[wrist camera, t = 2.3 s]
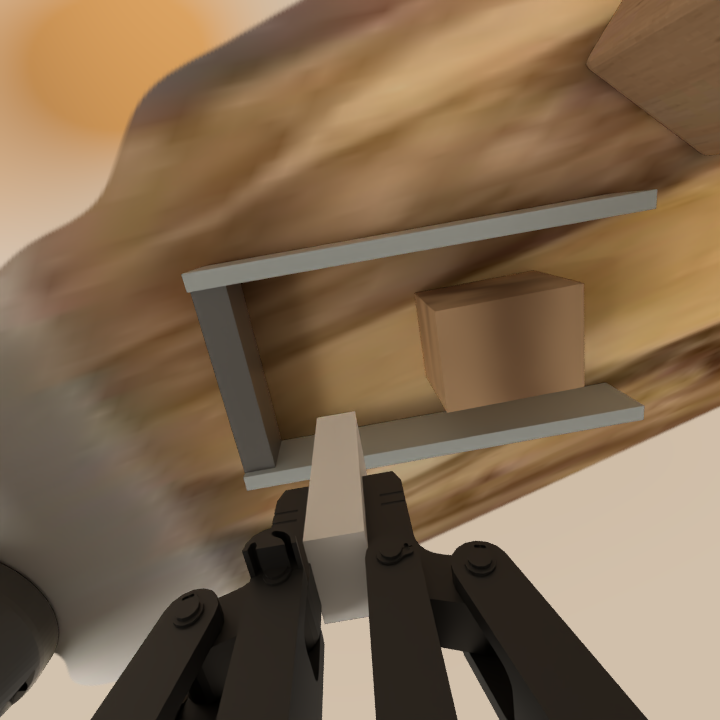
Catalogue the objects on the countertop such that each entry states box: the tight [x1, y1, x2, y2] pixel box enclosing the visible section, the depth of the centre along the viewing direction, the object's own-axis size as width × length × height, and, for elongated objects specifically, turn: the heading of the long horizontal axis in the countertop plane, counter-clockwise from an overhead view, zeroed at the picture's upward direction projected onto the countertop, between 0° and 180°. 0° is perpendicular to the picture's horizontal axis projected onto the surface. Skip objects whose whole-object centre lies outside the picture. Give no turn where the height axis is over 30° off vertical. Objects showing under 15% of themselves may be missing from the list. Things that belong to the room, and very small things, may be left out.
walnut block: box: [415, 271, 584, 413], centre depth 26 cm, size 8×6×6 cm
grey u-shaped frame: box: [181, 189, 657, 491], centre depth 27 cm, size 26×14×4 cm, turn 100°
